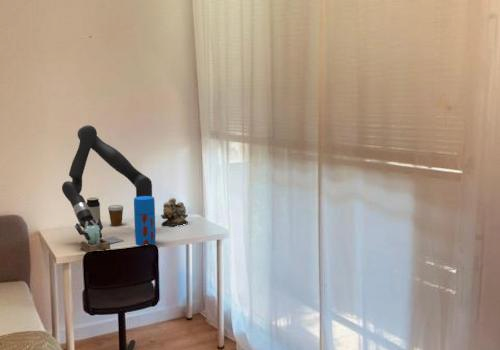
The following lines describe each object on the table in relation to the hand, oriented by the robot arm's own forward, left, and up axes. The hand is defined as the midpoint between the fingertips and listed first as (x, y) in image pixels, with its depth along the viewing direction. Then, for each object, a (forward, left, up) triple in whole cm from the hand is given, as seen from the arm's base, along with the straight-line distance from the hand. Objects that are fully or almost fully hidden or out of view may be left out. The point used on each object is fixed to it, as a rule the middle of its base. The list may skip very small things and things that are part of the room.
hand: (95, 238), depth 249 cm
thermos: (-25, +8, -6) cm, 27 cm away
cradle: (0, 0, -6) cm, 6 cm away
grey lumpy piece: (-61, -14, -6) cm, 63 cm away
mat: (-13, -9, -6) cm, 17 cm away
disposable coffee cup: (-35, -39, -6) cm, 52 cm away
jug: (0, 0, -6) cm, 6 cm away
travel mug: (-23, -45, -6) cm, 50 cm away
